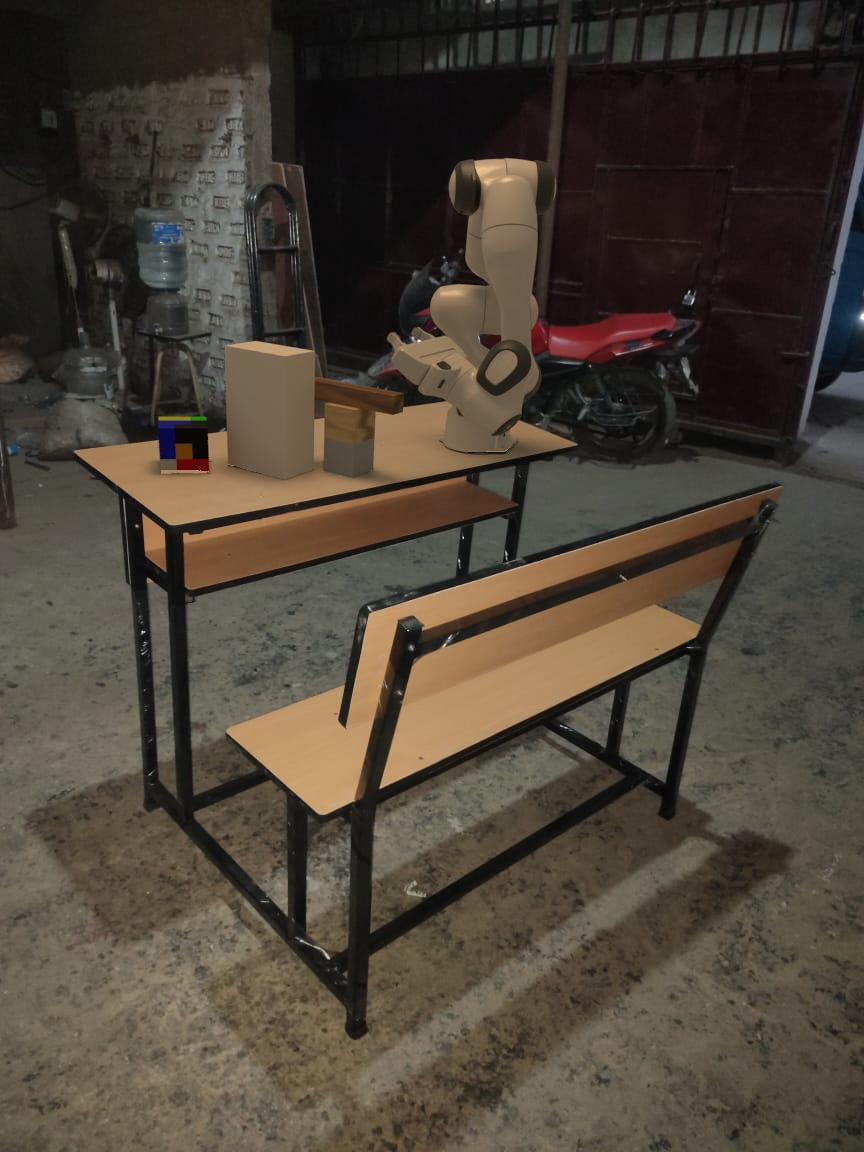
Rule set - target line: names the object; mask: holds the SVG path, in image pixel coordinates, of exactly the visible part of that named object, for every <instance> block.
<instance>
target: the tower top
mask: <svg viewBox="0 0 864 1152" xmlns="http://www.w3.org/2000/svg"><path fill="white" fill-rule="evenodd" d="M376 413H377V412H375V411H370V410H365V409H360V408H355V407H350V406H345V405H340V404H335V403H330V402H326V403H325V404H324V417H323V418H324V421H323V423H324V425H323V426H324V428H323V429H324V430H323V439H324V438H327V439H332V440H336V441H341V442H345V443H350V444H357V443H360V442H363V441H366V440H369V439H372V438H375V436H376V435H375V433H376Z"/></svg>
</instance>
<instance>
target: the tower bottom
mask: <svg viewBox="0 0 864 1152" xmlns="http://www.w3.org/2000/svg"><path fill="white" fill-rule="evenodd" d="M374 453H375V438H372V439H369V440H366V441H363V442H360V443H357V444H350V443H345V442H341V441H336V440H332V439H327V438H324V437H323V471H324V472H328V473H333V474H336V475H340V476H343V477H344V476H345V477H347V478H348V477H349V478H352V479H354V478H357V477H359V476H362V475H364V474H366V473H367V474H368V473H370V472H372V471H373V470H374V465H375V464H374V461H375V457H374V456H375V454H374ZM371 470H372V471H371Z"/></svg>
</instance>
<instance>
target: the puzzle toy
mask: <svg viewBox="0 0 864 1152" xmlns="http://www.w3.org/2000/svg"><path fill="white" fill-rule="evenodd" d="M157 418H158V420H157V421H158V422H157V434H158V435H157V437H158V453H159V467H160V468H159V469H160V471H161V470H199V471H200V470H201V471H209V472H210V454H209V453H210V452H209V431H208V430H209V427H208V422H207V421H208V420H207V416H158V417H157Z"/></svg>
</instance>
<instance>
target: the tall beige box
mask: <svg viewBox="0 0 864 1152" xmlns="http://www.w3.org/2000/svg"><path fill="white" fill-rule="evenodd" d="M315 373H316V351H315V350H311V349H305V348H299V347H293V346H287V345H281V344H275V343H270V342H265V341H259V340H254V341H253V340H252V341H247V342H246V341H245V342H240V343H234V344H226V345H224V374H225V377H224V378H225V402H226V404H225V405H226V406H225V407H226V408H225V409H226V437H227V438H226V439H227V441H226V442H227V445H226V446H227V465H228V464H230V465H234V466H237V467H241V468H244V469H248V470H252V471H255V472H254V473H256V472H258V473H257V474H260V473H261V475H264V476H267V477H268V476H269V477H272V478H277V479H279V480H280V479H281V480H285V481H286V480H289V479H291V478H294V477H298V476H300V475H303V474H306V473H308V472H311V471H314V470H315V468H314V466H315V399H314V395H315V377H316V376H315V375H316V374H315ZM244 469H243V470H244ZM248 470H247V471H248ZM252 471H251V472H252Z"/></svg>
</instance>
